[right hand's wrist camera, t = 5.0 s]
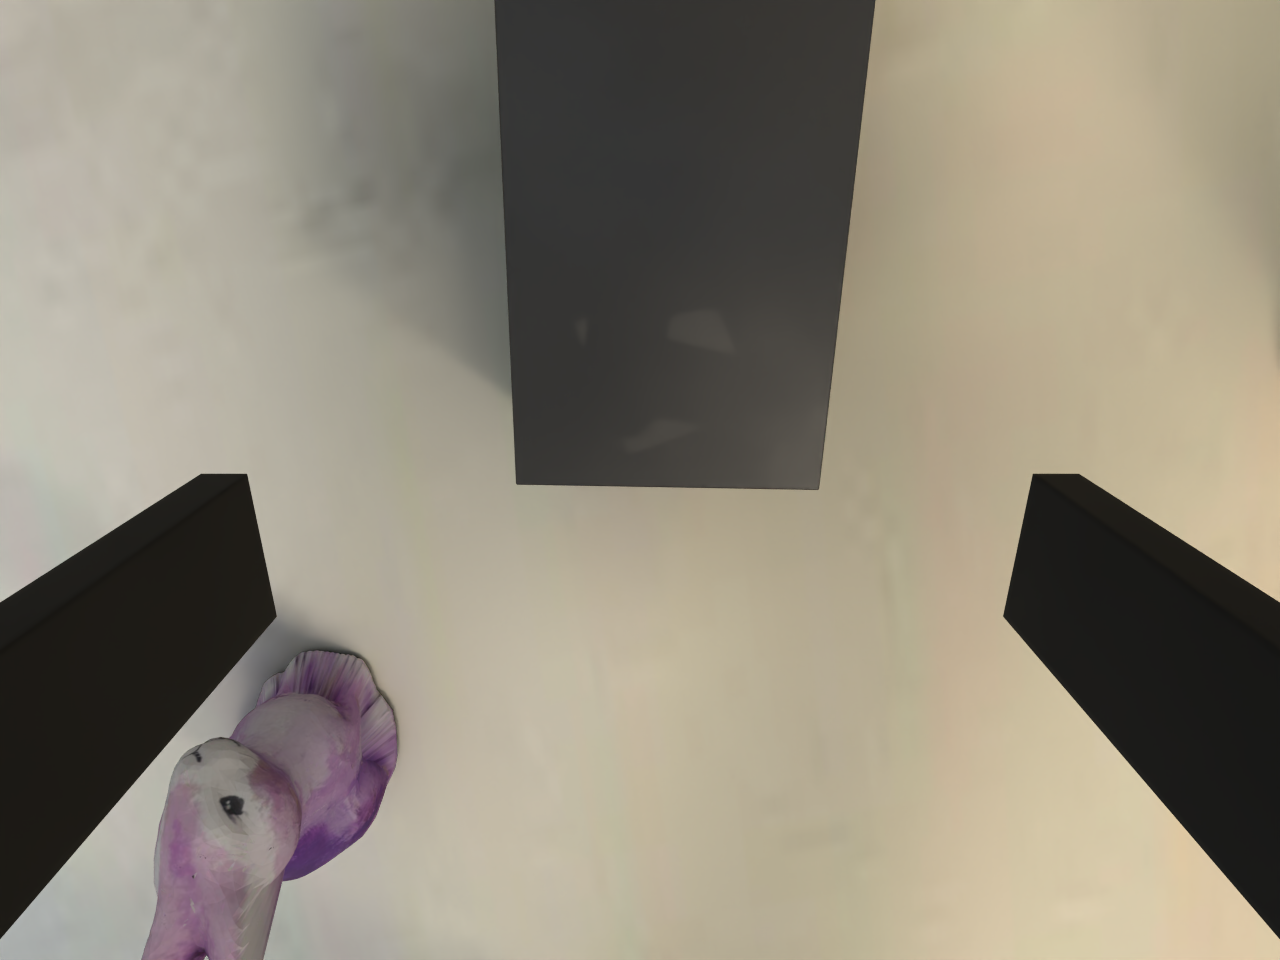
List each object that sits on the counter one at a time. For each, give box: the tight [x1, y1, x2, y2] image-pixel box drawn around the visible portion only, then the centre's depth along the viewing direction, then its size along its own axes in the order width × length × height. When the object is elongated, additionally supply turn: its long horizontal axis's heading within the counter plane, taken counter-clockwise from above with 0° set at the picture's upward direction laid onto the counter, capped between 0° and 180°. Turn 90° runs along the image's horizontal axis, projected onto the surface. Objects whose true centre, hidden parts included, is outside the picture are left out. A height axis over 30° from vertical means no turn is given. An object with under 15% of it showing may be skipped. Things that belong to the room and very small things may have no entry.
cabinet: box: [494, 0, 875, 490], centre depth 27 cm, size 16×11×8 cm
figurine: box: [141, 650, 397, 960], centre depth 32 cm, size 9×10×15 cm
